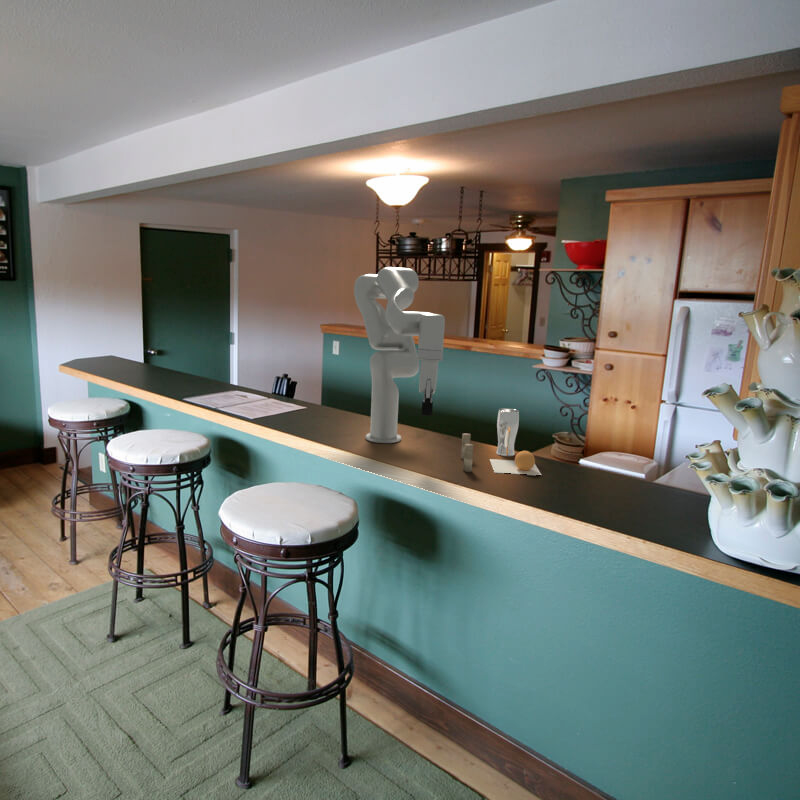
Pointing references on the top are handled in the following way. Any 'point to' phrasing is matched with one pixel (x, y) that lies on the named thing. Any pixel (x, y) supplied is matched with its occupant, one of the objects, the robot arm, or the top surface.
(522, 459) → the ball
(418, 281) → the robot arm
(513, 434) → the beer glass
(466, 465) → the front post
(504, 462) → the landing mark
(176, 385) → the top surface
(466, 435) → the back post
